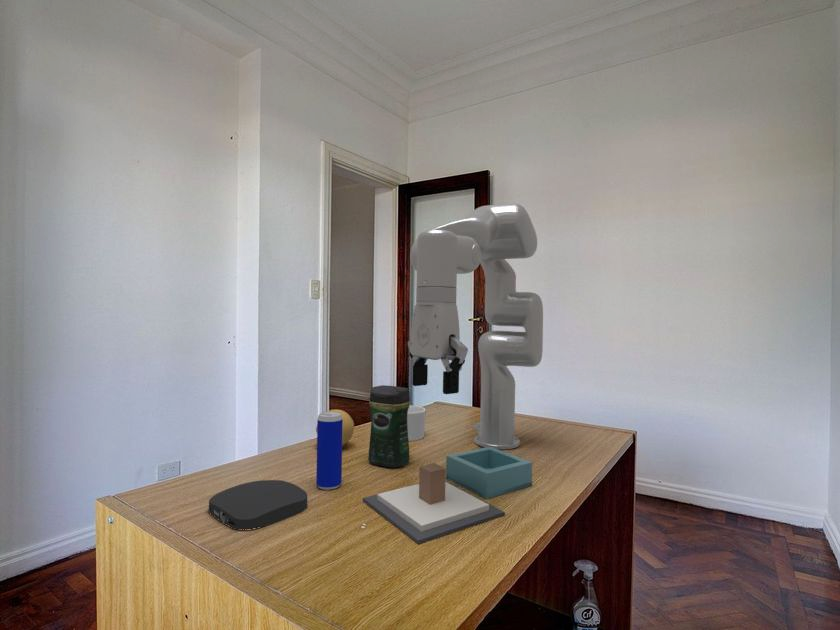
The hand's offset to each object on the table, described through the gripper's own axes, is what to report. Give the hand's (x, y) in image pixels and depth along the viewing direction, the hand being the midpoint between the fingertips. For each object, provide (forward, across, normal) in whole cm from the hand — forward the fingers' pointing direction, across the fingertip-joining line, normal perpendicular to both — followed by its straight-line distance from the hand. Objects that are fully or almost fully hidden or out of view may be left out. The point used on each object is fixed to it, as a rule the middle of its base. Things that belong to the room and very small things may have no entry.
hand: (434, 389), depth 84 cm
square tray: (+22, -4, +18) cm, 29 cm away
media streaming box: (+23, -17, -27) cm, 39 cm away
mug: (+23, -44, +23) cm, 54 cm away
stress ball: (+22, -44, 0) cm, 49 cm away
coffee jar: (+22, -26, +6) cm, 35 cm away
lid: (+22, 0, 0) cm, 22 cm away
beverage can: (+22, -20, -12) cm, 32 cm away
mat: (+22, 0, 0) cm, 22 cm away
